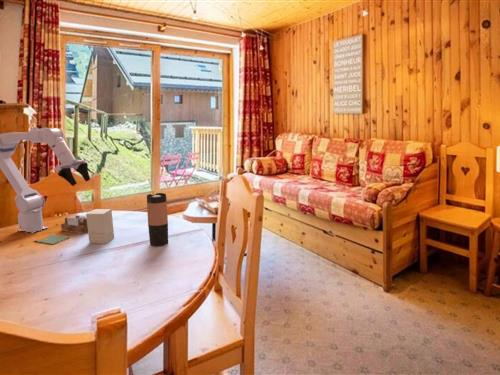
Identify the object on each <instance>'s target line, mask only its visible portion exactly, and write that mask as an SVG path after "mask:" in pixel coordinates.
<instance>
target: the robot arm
mask: <svg viewBox="0 0 500 375" xmlns="http://www.w3.org/2000/svg"><path fill="white" fill-rule="evenodd" d="M20 141H29V142H30V143H33V144H39V143H40V144H41V143H43V144H44V143H45V144H47V146H48V147H50V148H51V151H53V153H54V154H55V156H56V158H57V159H58V161H59V163H60V164H59V165H56V166H55V167H54V170H55V172H56V173H57V176H59V177H61V178H63V179H64V180H65V181H67V182H68V183H69V185H71V186H72V187H75V185H77V184H78V183H77V181H76V179H75V177H74V175H73V172H72V169H74V168H76V169H75V171H76V172H77V173H79V175H80V176H82V178H83V180H84V181H85V182H88V181H90V180H91V177H90V174H89V169H88V168H89V167H88V166H89V164H88V162H87V161H86V160H85V159H78V158H75V155H74V154H73V153H72V151H71V149H70V148H69V147H68V145H67V142H66V141H65V139H64V133H63V130H61V129H60V128H58V127H57V128H56V127H54V128H48V127H43V128H39V127H32V128H31V129H29V131H27V132H25V131H24V132H21V131H19V132H17V131H16V132H5V133H0V170H1V171H2V173H3V174H4V176H5V177H6V179H7V180H8V182H9V184H10V186H11V187H12V189H13V190H14V192H15V193H16V195H15V197H14V202H15V204H16V208H17V210H19V212H18V215H17V223H18V230H19V229H21V230H25V231H26V232H25V233H27V232H32V233H31V234H35V233H34V232H36V231H39V230H41V231H43V230H42V229H44V230H46V229H45V228H47V229H49V226H44V220H43V212H42V210H43V209H44V208H43V207H44V206H45V202H46V201H45V197H44V196H43V195H41V194H40V193H39V192H38V190H36V189H34V188H31V187H30V185H29V184H28V182H27V181H26V179H25V177H24V176H23V174H22V173H21V172H20V170H19V168H18V167H17V165H16V164H15V162H14V161H13V159H12V155H14V154H15V151H16V149H17V147H18V145H19V143H20ZM39 232H40V231H39ZM36 233H37V232H36Z"/></svg>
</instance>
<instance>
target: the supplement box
mask: <svg viewBox="0 0 500 375" xmlns="http://www.w3.org/2000/svg"><path fill="white" fill-rule="evenodd" d="M85 216H86V218H87V226H88V233H87V235H88V243H89V244H99V245H101V244H104V245H105V244H108V243H109V242H111V241H112V240H113V239H115V232H114V222H113V219H114V218H113V212H112V209H111V208H107V209H106V208H104V209H103V208H95V209H93V210H90V211H88V212H87V213H85Z"/></svg>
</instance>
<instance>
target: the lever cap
mask: <svg viewBox="0 0 500 375" xmlns="http://www.w3.org/2000/svg"><path fill="white" fill-rule="evenodd" d="M66 218H67V217H66ZM85 218H86V215H80V214H74V215H71V216H69V217H68V218H67V223H68V225H74V226H78V225H79V224H81V223H83V219H85Z"/></svg>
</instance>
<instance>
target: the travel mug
mask: <svg viewBox="0 0 500 375" xmlns="http://www.w3.org/2000/svg"><path fill="white" fill-rule="evenodd" d="M167 202H168V200H167V194H166V193H162V192H156V194H151V193H149V194H146V208H147V226H148V237H149V238H148V239H149V245H150V246H152V247H163V246H166V245H168V243H169V223H168V222H169V221H168V220H169V219H168V218H169V217H168V203H167Z"/></svg>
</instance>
